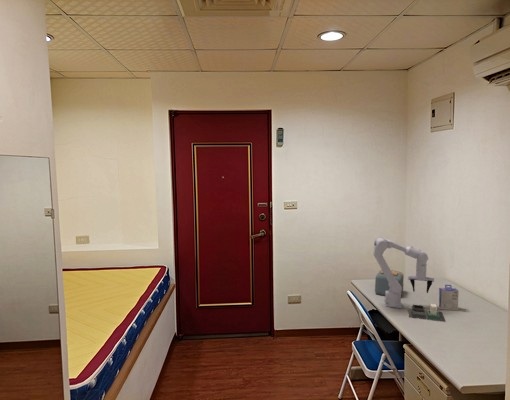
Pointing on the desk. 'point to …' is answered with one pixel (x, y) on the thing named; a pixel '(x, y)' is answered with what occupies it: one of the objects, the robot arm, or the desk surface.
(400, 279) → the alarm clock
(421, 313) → the jack panel
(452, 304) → the ink cartridge box
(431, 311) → the plug
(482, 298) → the desk surface
